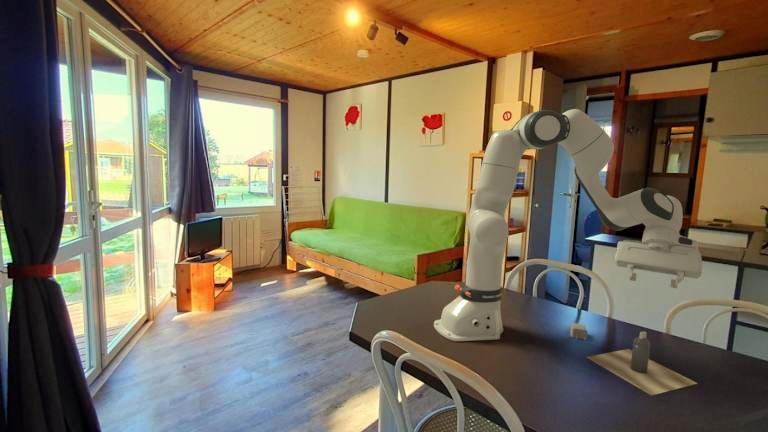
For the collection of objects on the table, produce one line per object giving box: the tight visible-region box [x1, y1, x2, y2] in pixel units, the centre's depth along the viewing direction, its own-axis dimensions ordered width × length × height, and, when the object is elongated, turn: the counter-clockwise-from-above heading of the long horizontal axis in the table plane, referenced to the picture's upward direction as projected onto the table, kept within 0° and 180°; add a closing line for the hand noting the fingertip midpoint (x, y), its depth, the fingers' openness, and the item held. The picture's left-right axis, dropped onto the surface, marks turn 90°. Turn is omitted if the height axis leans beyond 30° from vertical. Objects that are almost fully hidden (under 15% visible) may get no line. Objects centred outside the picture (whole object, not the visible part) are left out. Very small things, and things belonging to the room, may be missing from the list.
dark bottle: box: [630, 331, 651, 373], centre depth 96 cm, size 4×4×10 cm
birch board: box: [586, 348, 699, 396], centre depth 97 cm, size 16×18×1 cm
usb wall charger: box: [569, 322, 588, 341], centre depth 115 cm, size 4×7×4 cm, turn 161°
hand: (652, 283), depth 104 cm, fingers open, 8 cm apart
